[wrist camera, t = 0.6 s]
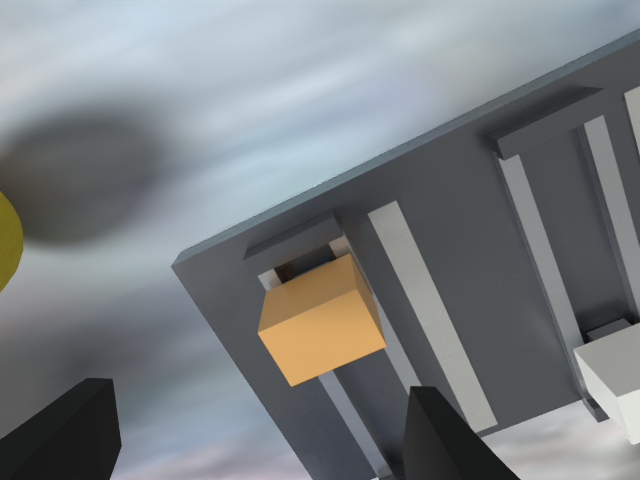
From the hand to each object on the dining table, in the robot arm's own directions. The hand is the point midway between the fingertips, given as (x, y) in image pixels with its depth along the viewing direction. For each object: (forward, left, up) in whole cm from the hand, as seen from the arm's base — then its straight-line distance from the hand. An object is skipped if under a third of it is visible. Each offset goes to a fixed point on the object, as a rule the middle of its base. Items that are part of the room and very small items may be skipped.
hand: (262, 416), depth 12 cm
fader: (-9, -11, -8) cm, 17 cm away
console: (-5, -6, -10) cm, 12 cm away
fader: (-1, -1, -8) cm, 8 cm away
